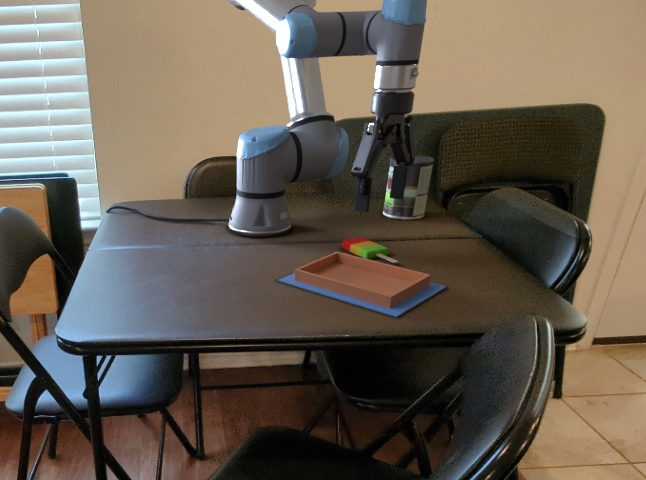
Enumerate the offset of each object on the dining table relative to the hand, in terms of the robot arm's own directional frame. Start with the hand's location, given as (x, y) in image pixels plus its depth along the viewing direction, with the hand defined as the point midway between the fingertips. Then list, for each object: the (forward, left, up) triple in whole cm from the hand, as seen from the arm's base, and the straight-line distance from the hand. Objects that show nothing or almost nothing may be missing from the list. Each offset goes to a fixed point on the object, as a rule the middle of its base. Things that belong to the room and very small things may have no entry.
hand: (379, 204), depth 120 cm
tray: (+7, -16, -11) cm, 20 cm away
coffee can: (-11, +34, -11) cm, 38 cm away
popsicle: (0, 0, -11) cm, 11 cm away
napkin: (+7, -16, -11) cm, 20 cm away
